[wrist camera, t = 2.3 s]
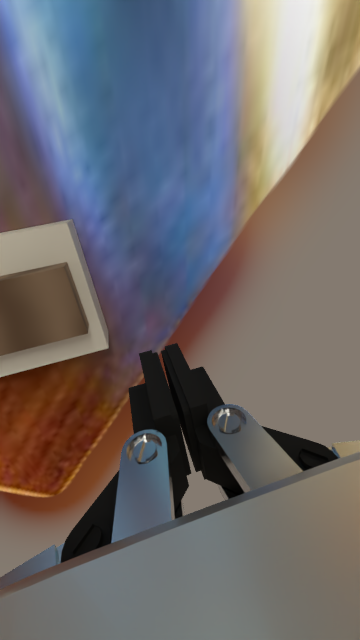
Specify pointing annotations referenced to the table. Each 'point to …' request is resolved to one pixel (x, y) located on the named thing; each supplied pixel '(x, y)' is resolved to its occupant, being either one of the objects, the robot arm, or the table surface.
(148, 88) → the table surface
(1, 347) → the walnut tile
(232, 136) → the table surface
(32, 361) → the riser
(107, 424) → the table surface
